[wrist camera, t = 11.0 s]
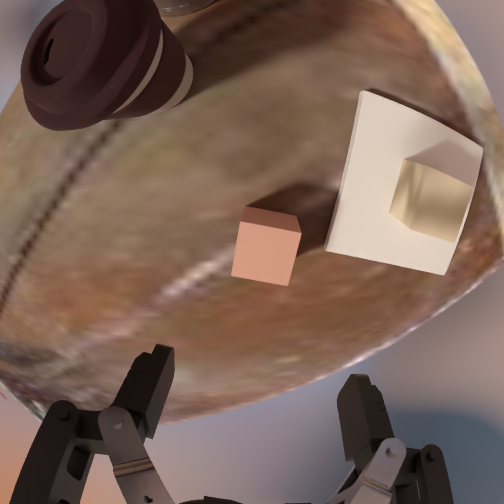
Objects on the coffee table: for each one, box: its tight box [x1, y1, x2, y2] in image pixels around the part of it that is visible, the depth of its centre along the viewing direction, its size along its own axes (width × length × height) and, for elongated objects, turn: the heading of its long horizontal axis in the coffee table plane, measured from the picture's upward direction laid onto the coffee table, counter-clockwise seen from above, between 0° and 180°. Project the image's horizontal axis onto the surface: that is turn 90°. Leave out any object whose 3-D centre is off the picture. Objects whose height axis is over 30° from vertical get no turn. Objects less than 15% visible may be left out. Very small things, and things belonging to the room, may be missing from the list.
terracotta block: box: [231, 206, 302, 286], centre depth 25 cm, size 5×5×5 cm
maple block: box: [389, 160, 472, 243], centre depth 21 cm, size 6×6×5 cm
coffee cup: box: [21, 0, 193, 131], centre depth 14 cm, size 10×10×15 cm
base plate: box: [324, 90, 484, 275], centre depth 24 cm, size 16×16×1 cm
